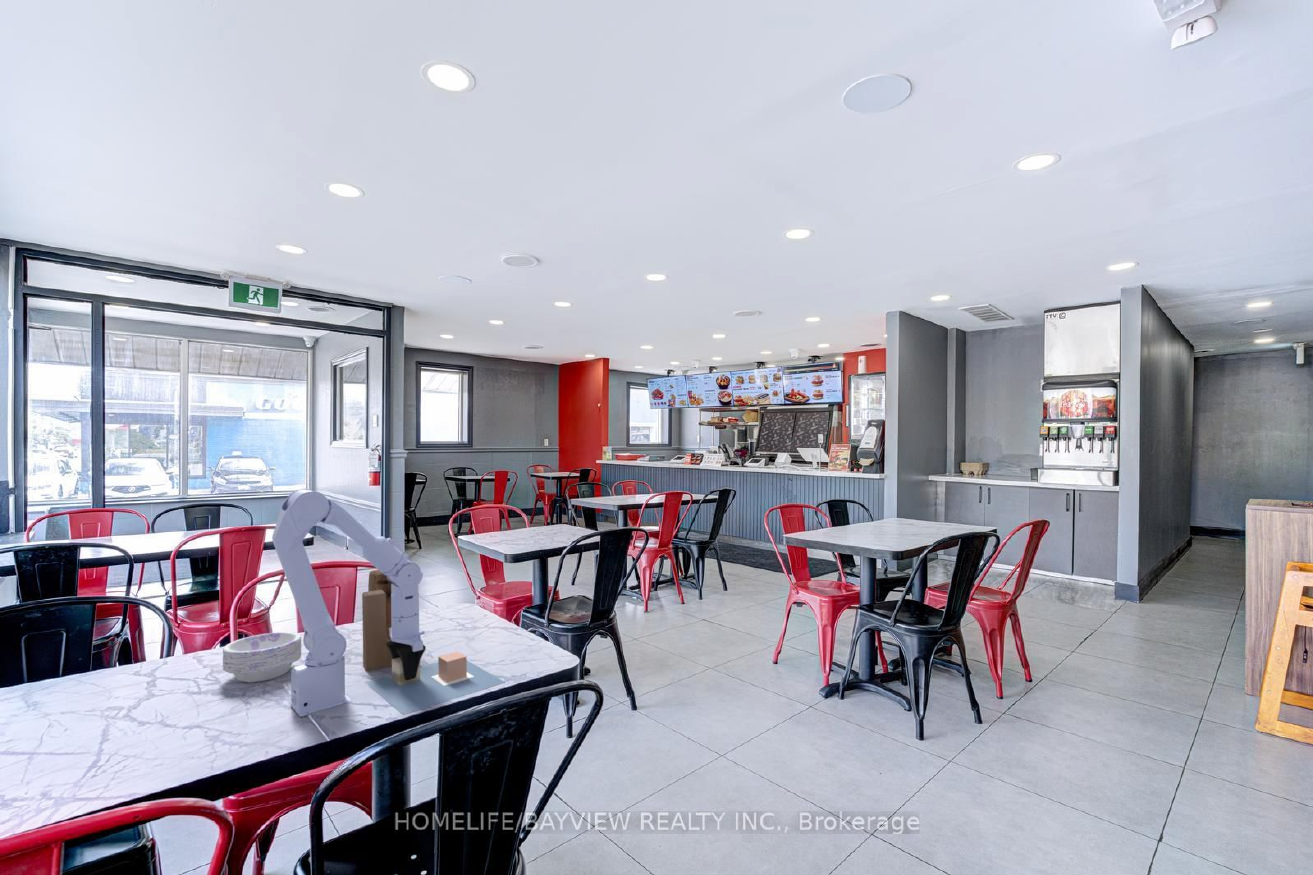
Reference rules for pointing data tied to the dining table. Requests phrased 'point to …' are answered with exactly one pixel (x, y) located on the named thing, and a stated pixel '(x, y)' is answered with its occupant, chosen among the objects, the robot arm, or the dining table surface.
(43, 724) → the dining table surface
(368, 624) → the wooden block
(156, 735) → the dining table surface
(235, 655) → the paper bowls
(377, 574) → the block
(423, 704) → the board
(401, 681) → the maple block
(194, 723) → the dining table surface
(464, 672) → the terracotta block
